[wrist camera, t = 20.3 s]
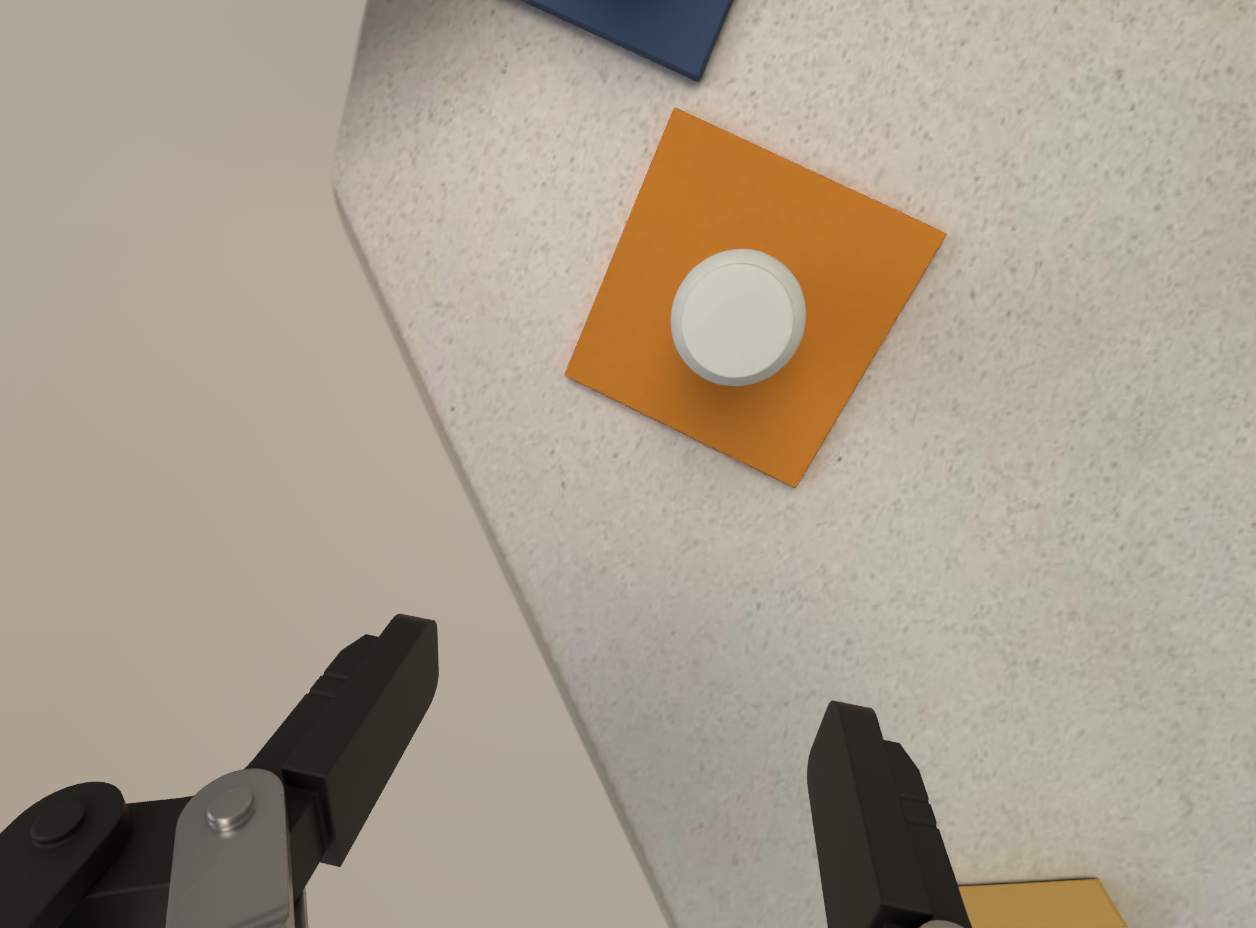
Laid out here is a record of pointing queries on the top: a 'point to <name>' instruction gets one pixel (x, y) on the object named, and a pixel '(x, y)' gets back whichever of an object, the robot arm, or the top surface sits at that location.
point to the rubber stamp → (1041, 905)
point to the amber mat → (781, 227)
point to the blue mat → (650, 27)
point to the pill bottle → (738, 317)
